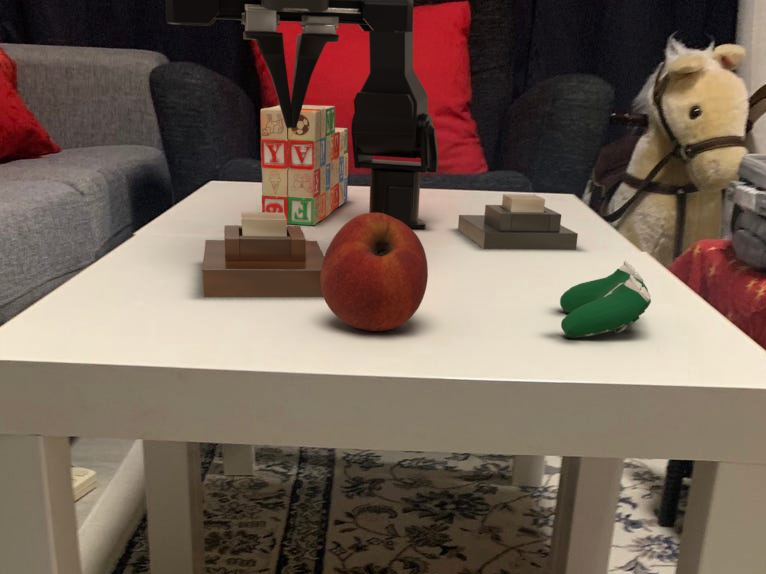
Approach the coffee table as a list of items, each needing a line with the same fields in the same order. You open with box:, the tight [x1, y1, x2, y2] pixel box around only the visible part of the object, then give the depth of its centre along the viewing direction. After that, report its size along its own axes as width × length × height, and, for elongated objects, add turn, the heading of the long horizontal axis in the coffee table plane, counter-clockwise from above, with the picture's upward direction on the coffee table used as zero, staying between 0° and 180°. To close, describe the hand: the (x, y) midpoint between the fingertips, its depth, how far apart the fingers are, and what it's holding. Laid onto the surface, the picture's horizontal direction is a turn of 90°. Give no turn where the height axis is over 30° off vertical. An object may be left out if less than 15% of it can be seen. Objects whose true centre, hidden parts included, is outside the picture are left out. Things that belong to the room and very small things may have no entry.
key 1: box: [240, 211, 288, 236], centre depth 78 cm, size 4×4×2 cm
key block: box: [201, 224, 325, 298], centre depth 79 cm, size 13×10×4 cm
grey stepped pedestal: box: [457, 204, 579, 251], centre depth 102 cm, size 12×10×4 cm
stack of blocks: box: [259, 104, 349, 226], centre depth 114 cm, size 21×6×12 cm, turn 172°
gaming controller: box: [559, 259, 652, 339], centre depth 68 cm, size 9×4×6 cm
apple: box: [320, 212, 429, 332], centre depth 65 cm, size 7×8×8 cm
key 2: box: [501, 193, 546, 213], centre depth 99 cm, size 4×4×2 cm
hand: (291, 127), depth 77 cm, fingers closed
